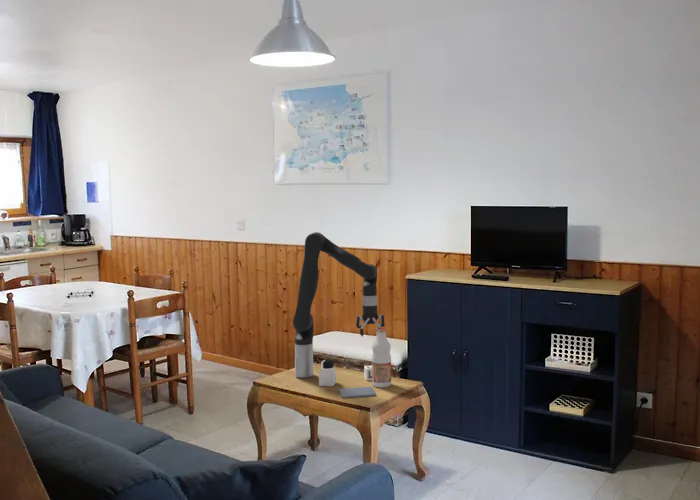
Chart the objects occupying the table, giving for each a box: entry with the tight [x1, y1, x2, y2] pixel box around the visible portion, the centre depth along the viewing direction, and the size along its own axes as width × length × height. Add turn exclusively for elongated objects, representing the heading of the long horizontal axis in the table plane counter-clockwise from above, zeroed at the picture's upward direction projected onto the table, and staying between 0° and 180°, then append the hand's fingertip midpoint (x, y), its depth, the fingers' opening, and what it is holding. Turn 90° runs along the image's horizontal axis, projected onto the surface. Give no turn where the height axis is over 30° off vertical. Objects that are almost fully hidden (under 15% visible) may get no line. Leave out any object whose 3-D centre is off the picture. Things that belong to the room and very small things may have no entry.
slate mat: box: [338, 386, 377, 399], centre depth 308 cm, size 16×12×1 cm
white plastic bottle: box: [371, 327, 392, 389], centre depth 319 cm, size 9×9×28 cm
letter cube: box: [363, 364, 372, 381], centre depth 331 cm, size 6×6×6 cm
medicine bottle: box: [318, 359, 337, 387], centre depth 322 cm, size 7×7×12 cm
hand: (370, 335), depth 329 cm, fingers open, 8 cm apart
